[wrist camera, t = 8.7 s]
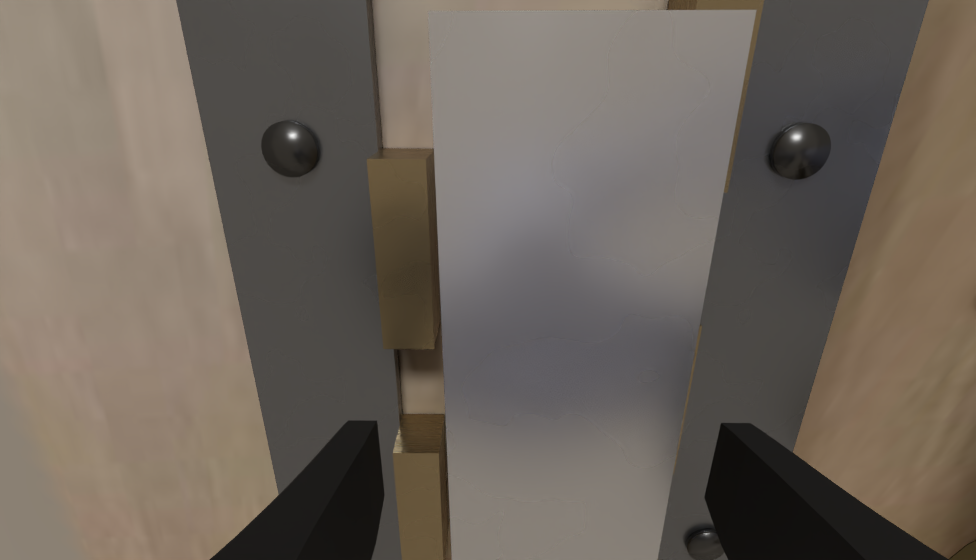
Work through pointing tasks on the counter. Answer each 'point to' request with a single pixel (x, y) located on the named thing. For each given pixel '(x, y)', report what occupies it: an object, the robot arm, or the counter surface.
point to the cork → (966, 553)
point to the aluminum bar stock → (574, 264)
